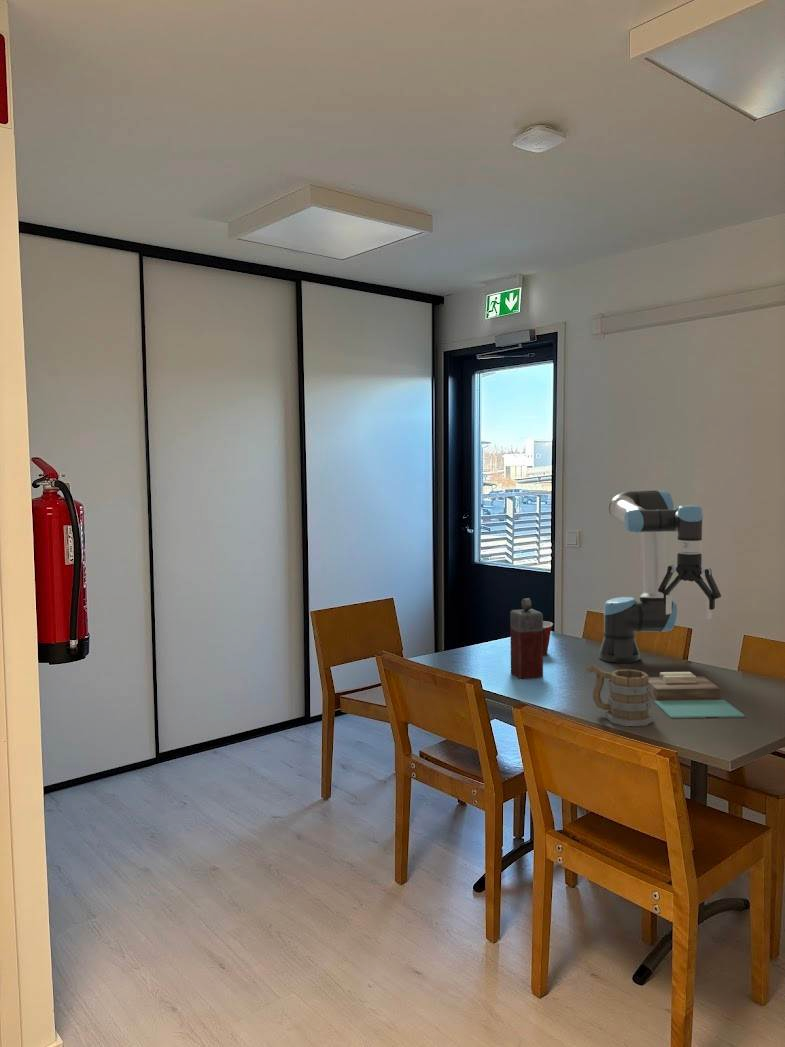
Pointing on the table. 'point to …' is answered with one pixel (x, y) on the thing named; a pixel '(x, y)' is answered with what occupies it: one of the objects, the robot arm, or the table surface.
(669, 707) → the mat
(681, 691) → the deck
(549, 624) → the plastic cup
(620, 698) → the tankard
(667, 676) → the tile
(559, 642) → the table surface
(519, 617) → the toy vending machine
